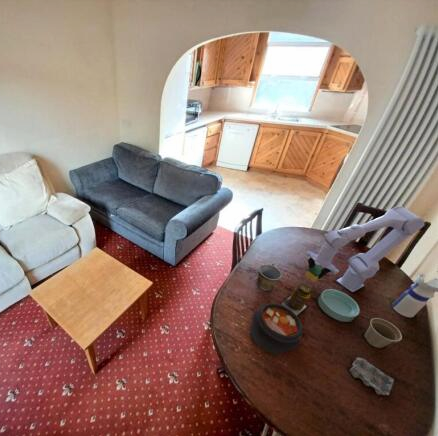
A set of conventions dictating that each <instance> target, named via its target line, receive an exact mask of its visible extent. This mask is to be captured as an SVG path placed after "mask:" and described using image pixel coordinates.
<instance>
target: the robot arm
mask: <svg viewBox="0 0 438 436" xmlns="http://www.w3.org/2000/svg"><path fill="white" fill-rule="evenodd" d="M389 227H390V228H393V229H392V230H391V231H390V232H388V233H387V234H386V235H385V236H384V237H382V238H381V239H380V240H379V241H378V242H376V244H375V245H374V246H372V247H371V248H370V249H369V250H368V251H367V252H365V253H363V252H359V253H357V254H355V255H353V256H351V257H350V258H349V259H348V260H347V263H348V268H347V270H346V271H345V272H344V274H343V276H342V277H339V278H338V279H337V280H336V282H337V283H338V284H339V285H341V286H342V287H344V288H345V289H346V290H349V291H350V292H351V293H354V292H356V291H358V290H359V289H361V288H363V287H364V286H365V285H364V282H365V281H366V280H367V279H370V278H372V277H374V276H375V275H376V274H377V271H379V270H380V265H379V261H381V260H382V259H383V258H384V257H386V256H387V255H388V254H389V253H391V252H392V251H393V250H394V249H396V248H397V247H398V246H400V245H401V244H402V243H403V242H404V241H406V240H407V239H408V238H409V237H412V236H413V235H415V234H416V233H417V232H418V231H420V230H421V229H423V227H425V219H424V218H422V217H420V216H419V215H417V214H415V213H413V212H412V211H410V210H409V209H407V207H405V206H402V205H398V206H394V207H393V208H391V209H388V210H387V211H386V212H385V213H384V215H382V216H379V217H377V218H375V219H372V220H370V221H368V222H365V223H363V224H357V223H356V224H352V225H350V226H347V227H345V228H341V229H338V230H329V231H327V232H326V233H325V234H323V238H324V240H323V244H322V245H321V247H320V249H319V250H318V253H315V252H313V251H311V250H309V251H306V253H305V256H307V257H309V258H308V259H307V263H308V269H310V268H312V267H314V266H316V265H318V266H320V267H322V268H323V269H322V270H321V273H320V275H319V277H318V278H319V279H318V280H320V279H322V278H323V277H324V276H326V275H327V274H329V273H330V272H332V274H333V275H335V276H336V275H337V274H339V272H340V270H339V269H338V268H336V267H335V265H334V264H333V263H332V261H333V259H334V257H335V256H336V255H337V253H338V251H339V249H341V248H343V247H345V246H347V244H350V242H352V241H355V240H358V239H361V238H363V237H365V236H366V233H370V232H373V231H378V230H381V229H384V228H389Z"/></svg>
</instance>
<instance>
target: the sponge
mask: <svg viewBox="0 0 438 436" xmlns="http://www.w3.org/2000/svg"><path fill="white" fill-rule="evenodd" d="M323 268H324V267H323V266H320V265H319V266H318V265H315V266H314V267H312V268H310V269H309V268H307V270H306V273H305V274H304V276H305V277H307V278H308V279H309V280H310V281H312V282H315V281H317V280H320V279H319V278H318V277H319V275H320V273H321V270H322V269H323Z"/></svg>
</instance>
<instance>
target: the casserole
mask: <svg viewBox="0 0 438 436" xmlns="http://www.w3.org/2000/svg"><path fill="white" fill-rule="evenodd" d="M303 329H304V328H303V326H302V322H301V320H300V318H299V316H298V315H296V314H295V313H294V312H293V311H291V310H290V309H289V308H287V307H285V306H284V305H282V304H280V303H275V302H271V303H266V304H264V305H261V306H260V307H259V309H257V311H255V312H254V314H253V315H252V320H251V327H250V331H249V334H250V337H251V339H252V340H253V342H254V343H255V344H256V345H257V346H258V347H259V348H261V349H262V350H263V351H265V352H267V353H268V354H271V355H274V356H277V355H280V354H282V353H284V352H288V351H293V350H296V349H297V348H298V347H299V346H300V344H301V341H302V336H303V333H304V330H303Z"/></svg>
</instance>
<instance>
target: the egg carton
mask: <svg viewBox="0 0 438 436" xmlns="http://www.w3.org/2000/svg"><path fill="white" fill-rule="evenodd" d="M351 366H352V367H351V368H350V369H349V372H350V373H351V375H352V376H353V378H355V379H358V378H359V379H360V380H361V381H362V382H363V385H365V386H367V387H371V388H372V389H374V391H375V393H376V394H377V395H379V396H381V395H382V396H386V395H387V396H390V393H391V390H392V388H393V384H394V381H395V379H394V378H392V377H391V376H389V375H387V374H385V373H384V372H383V371H381V369H379V368H377V367H376V366H374V365H373V364H372V363H370V362H369V361H368V360H366V359H365V358H363V357H356V359H355V360H354V361H353V363H352V364H351Z"/></svg>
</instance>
